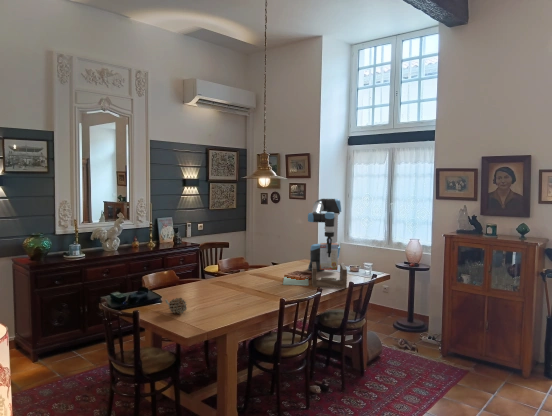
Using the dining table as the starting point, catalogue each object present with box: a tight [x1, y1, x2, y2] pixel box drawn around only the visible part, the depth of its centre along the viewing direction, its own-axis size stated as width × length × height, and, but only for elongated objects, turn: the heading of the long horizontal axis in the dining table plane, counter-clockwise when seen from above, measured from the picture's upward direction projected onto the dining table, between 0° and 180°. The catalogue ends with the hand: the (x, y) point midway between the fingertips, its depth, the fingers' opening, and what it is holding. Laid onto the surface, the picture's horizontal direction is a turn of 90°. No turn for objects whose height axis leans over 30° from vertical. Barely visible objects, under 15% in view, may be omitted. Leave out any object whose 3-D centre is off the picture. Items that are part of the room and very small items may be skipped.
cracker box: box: [319, 242, 339, 271], centre depth 345 cm, size 14×6×21 cm, turn 84°
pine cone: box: [165, 297, 188, 314], centre depth 266 cm, size 22×10×10 cm, turn 49°
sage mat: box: [282, 276, 310, 287], centre depth 347 cm, size 24×20×1 cm
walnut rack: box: [311, 262, 348, 289], centre depth 343 cm, size 26×26×14 cm
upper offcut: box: [320, 276, 337, 280], centre depth 340 cm, size 6×12×2 cm, turn 81°
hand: (328, 260), depth 345 cm, fingers closed on cracker box, 6 cm apart
